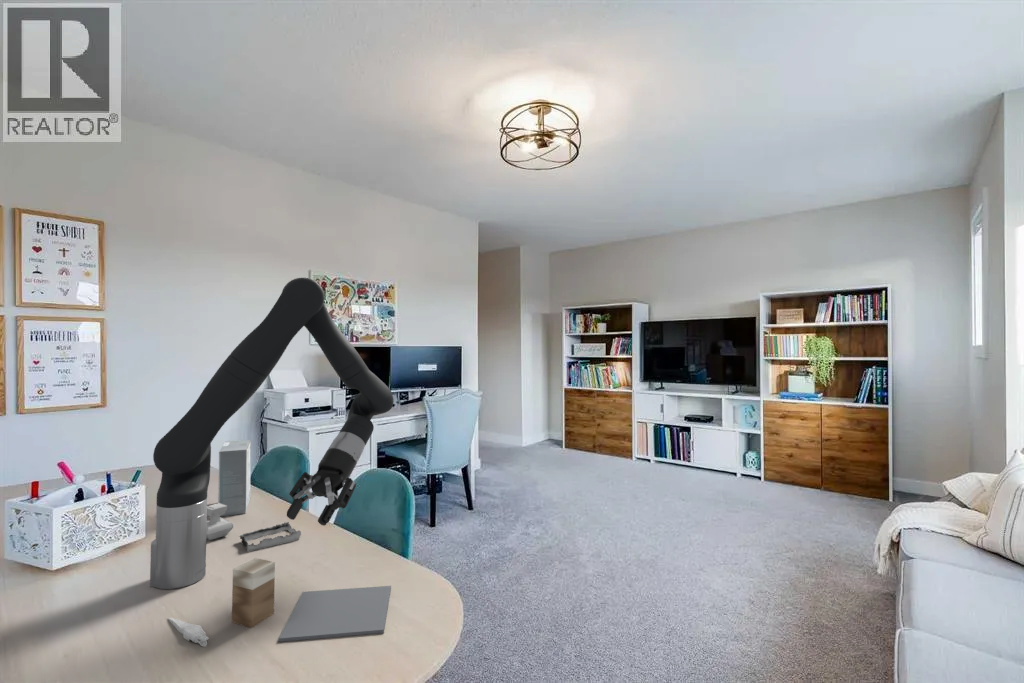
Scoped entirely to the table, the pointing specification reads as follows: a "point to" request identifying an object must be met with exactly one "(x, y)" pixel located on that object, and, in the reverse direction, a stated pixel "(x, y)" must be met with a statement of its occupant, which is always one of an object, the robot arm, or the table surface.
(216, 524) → the stamp
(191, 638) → the white tapered spike part
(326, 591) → the charcoal mat
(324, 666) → the table surface
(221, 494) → the hard drive box
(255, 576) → the cream and brown block
